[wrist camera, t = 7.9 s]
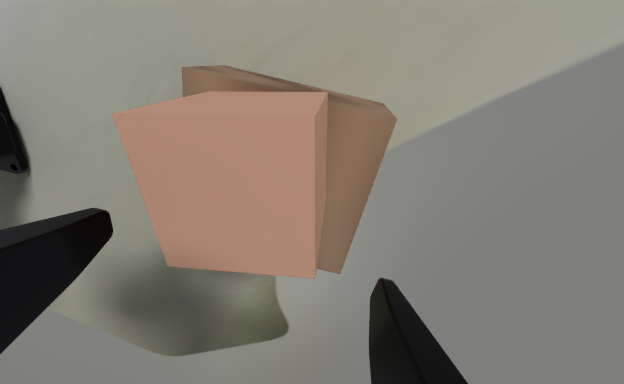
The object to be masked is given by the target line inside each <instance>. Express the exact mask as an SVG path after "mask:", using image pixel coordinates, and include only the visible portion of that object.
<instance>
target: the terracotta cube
mask: <svg viewBox="0 0 624 384" xmlns="http://www.w3.org/2000/svg"><path fill="white" fill-rule="evenodd" d="M327 110H328V92H223V91H209V92H204V93H200V94H195V95H191V96H187V97H182V98H178V99H173V100H169V101H164V102H160V103H156V104H151V105H147V106H142V107H138V108H134V109H129V110H125V111H120V112H116V113H112V116H113V118H114V121H115V124H116V127H117V129H118V132H119V135H120V138H121V140H122V143H123V146H124V149H125V151H126V154H127V157H128V160H129V162H130V165H131V168H132V170H133V173H134V176H135V179H136V181H137V184H138V187H139V190H140V192H141V195H142V198H143V201H144V203H145V206H146V209H147V212H148V214H149V217H150V220H151V223H152V225H153V228H154V231H155V233H156V236H157V239H158V242H159V244H160V247H161V250H162V253H163V255H164V258H165V261H166V264H167V266H168V267H180V268H192V269H204V270H216V271H228V272H240V273H252V274H264V275H276V276H289V277H300V278H312V279H315V276H316V268H317V261H318V253H319V246H320V239H321V231H322V224H323V216H324V209H325V202H326V158H327Z"/></svg>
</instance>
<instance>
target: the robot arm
mask: <svg viewBox="0 0 624 384" xmlns="http://www.w3.org/2000/svg"><path fill="white" fill-rule="evenodd" d="M0 170H4V171H8V172H12V173H16V174H19V173H22V172H25V171H27V165H26V163H25V160H24V157H23V155H22V152H21V149H20V146H19V144H18V141H17V138H16V136H15V133H14V130H13V128H12V125H11V122H10V119H9V117H8V114H7V111H6V109H5V106H4V103H3V100H2V98H1V95H0ZM112 234H113V227H112V222H111V218H110V214H109V212H108V211H106V210H102V209H98V208H90V209H86V210H81V211H77V212H73V213H69V214H65V215H61V216H57V217H52V218H48V219H44V220H40V221H36V222H32V223H28V224H23V225H19V226H15V227H11V228H7V229H3V230H0V354H1V353H2V352H3V351H4V350H5V349H6V348H7V347H8V346H9V345H10V344H11V343H12V342H13V341H14V340H15V339H16V338H17V337H18V336H19V335H20V334H21V333H22V332H23V331H24V330H25V329H26V328H27V327H28V326H29V325H30V324H31V323H32V322H33V321H34V320H35V319H36V318H37V317H38V316H39V315H40V314H41V313H42V312H43V311H44V310H45V309H46V308H47V307H48V306H49V305H50V304H51V303H52V302H53V301H54V300H55V299H56V298H57V297H58V296H59V295H60V294H61V293H62V292H63V291H64V290H65V289H66V288H67V287H68V286H69V285H70V284H71V283H72V282H73V281H74V280H75V279H76V278H77V277H78V276H79V275H80V274H81V272H82V271H83V270H84V269H85V268H86V267H87V265H88V264H89V263H90V262H91V261H92V259H93V258H94V257H95V256H96V255H97V254H98V252H99V251H100V250H101V249H102V248H103V246H104V245H105V244H106V243H107V242H108V241H109V239H110V238H111V236H112ZM369 325H370V326H369V359H370V371H371V384H468V383H467V382H466V380H465V379H464V378H463V376H462V375H461V373H460V372H459V371H458V370H457V368H456V366H455V365H454V364H453V362H452V361H451V360H450V359H449V357H448V356H447V354H446V353H445V351H444V350H443V349H442V347H441V346H440V345H439V343H438V342H437V340H436V339H435V338H434V336H433V335H432V334H431V332H430V331H429V329H428V328H427V327H426V325H425V324H424V323H423V321H422V320H421V319H420V317H419V316H418V314H417V313H416V312H415V310H414V309H413V308H412V306H411V305H410V303H409V302H408V301H407V299H406V298H405V297H404V295H403V294H402V292H401V291H400V290H399V288H398V287H397V286H396V284H395V283H394V282H393V281H391V280H388V279H384V278H380V279H379V280H378V282H377V284H376V286H375V288H374V290H373V292H372V294H371V298H370V321H369Z"/></svg>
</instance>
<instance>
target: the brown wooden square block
mask: <svg viewBox="0 0 624 384" xmlns="http://www.w3.org/2000/svg"><path fill="white" fill-rule="evenodd" d="M182 81H183V97H187V96H191V95H195V94H200V93H204V92H209V91H223V92H328V110H327V158H326V202H325V209H324V216H323V224H322V231H321V239H320V246H319V253H318V261H317V269H321V270H325V271H329V272H334V273H337V274H340V273H341V270H342V267H343V264H344V262H345V258H346V256H347V253H348V251H349V248H350V245H351V242H352V240H353V237H354V235H355V232H356V229H357V226H358V224H359V221H360V218H361V215H362V213H363V210H364V207H365V205H366V202H367V199H368V196H369V194H370V191H371V188H372V186H373V183H374V180H375V177H376V175H377V172H378V169H379V166H380V164H381V161H382V158H383V156H384V153H385V150H386V147H387V145H388V142H389V139H390V137H391V134H392V131H393V128H394V126H395V123H396V120H397V118H396V117H395V116H394V115H393V114H392V113H391V112H390V110H389V109H388V108H387V107H386V106H385V105H384V104H382V103H378V102H374V101H369V100H365V99H361V98H357V97H353V96H349V95H344V94H340V93H336V92H332V91H328V90H324V89H319V88H315V87H311V86H307V85H303V84H299V83H294V82H290V81H286V80H282V79H278V78H273V77H269V76H265V75H261V74H257V73H253V72H248V71H244V70H240V69H236V68H232V67H228V66H200V67H182Z"/></svg>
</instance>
